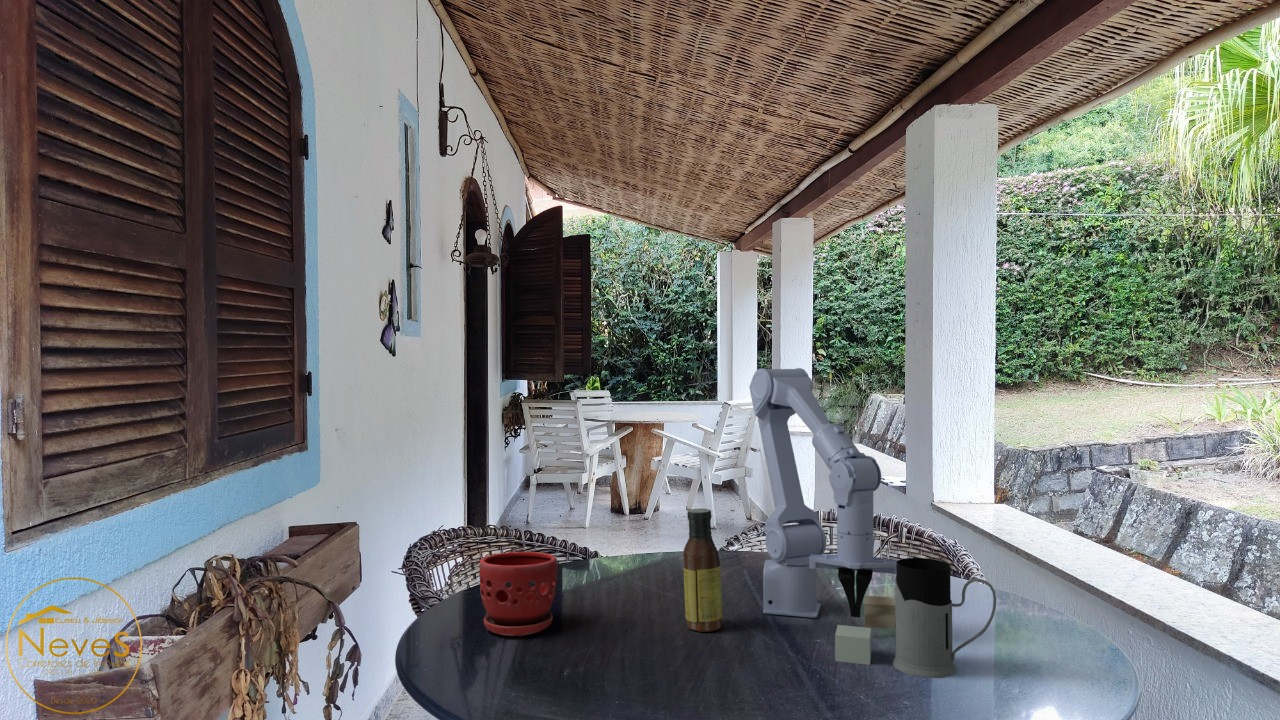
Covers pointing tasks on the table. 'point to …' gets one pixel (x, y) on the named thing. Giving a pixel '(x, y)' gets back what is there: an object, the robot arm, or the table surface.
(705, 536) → the sauce bottle
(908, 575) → the glass holder
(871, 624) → the birch block
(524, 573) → the plant pot
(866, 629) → the sage block
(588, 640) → the table surface
